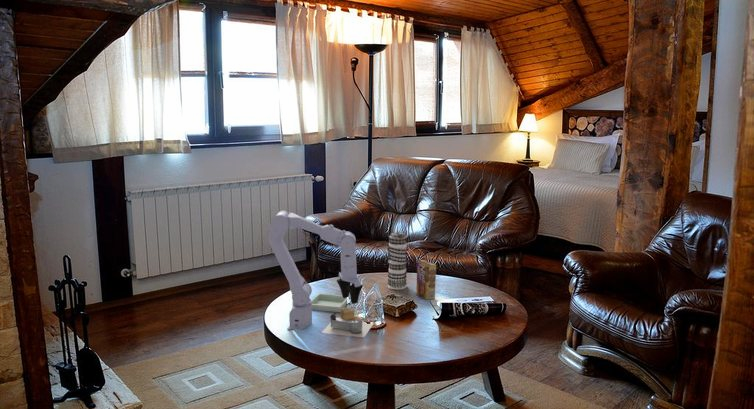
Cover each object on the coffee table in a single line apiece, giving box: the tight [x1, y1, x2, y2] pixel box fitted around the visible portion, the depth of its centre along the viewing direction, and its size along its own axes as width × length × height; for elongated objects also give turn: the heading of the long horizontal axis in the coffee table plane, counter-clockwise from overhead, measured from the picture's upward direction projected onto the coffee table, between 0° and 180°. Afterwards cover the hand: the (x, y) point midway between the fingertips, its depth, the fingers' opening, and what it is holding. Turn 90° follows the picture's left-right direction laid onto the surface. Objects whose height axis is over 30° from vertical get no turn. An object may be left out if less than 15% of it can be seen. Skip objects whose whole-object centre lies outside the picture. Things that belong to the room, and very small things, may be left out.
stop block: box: [340, 306, 356, 321], centre depth 224 cm, size 4×4×6 cm
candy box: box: [415, 259, 437, 301], centre depth 259 cm, size 9×4×15 cm, turn 31°
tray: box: [311, 293, 347, 313], centre depth 246 cm, size 14×14×3 cm
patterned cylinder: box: [387, 231, 409, 291], centre depth 272 cm, size 9×9×25 cm
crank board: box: [321, 316, 374, 339], centre depth 223 cm, size 16×16×1 cm
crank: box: [329, 312, 363, 334], centre depth 219 cm, size 13×4×5 cm, turn 66°
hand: (350, 300), depth 225 cm, fingers open, 7 cm apart
